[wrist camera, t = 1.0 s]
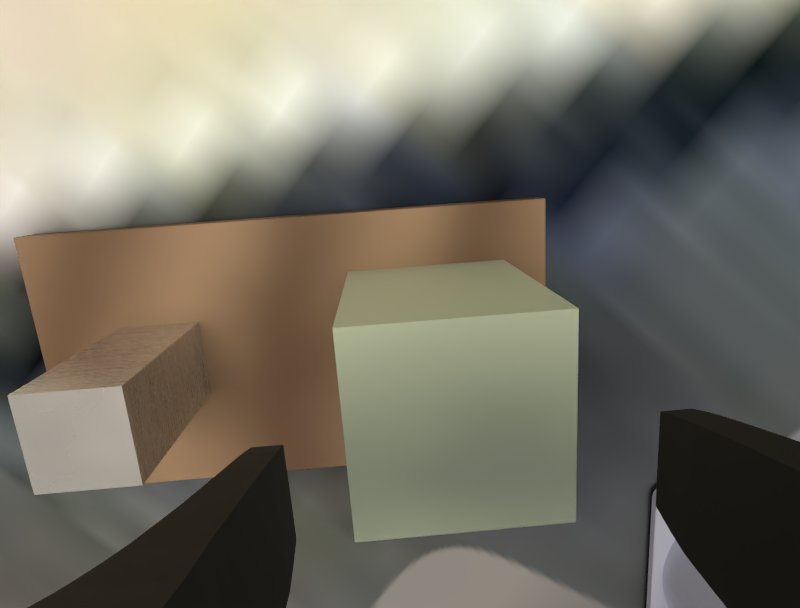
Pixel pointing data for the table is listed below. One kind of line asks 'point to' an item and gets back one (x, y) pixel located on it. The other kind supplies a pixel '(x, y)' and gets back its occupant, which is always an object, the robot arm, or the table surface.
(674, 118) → the table surface
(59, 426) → the post
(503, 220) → the board
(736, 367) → the table surface
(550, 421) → the pale green block
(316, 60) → the table surface
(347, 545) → the table surface
